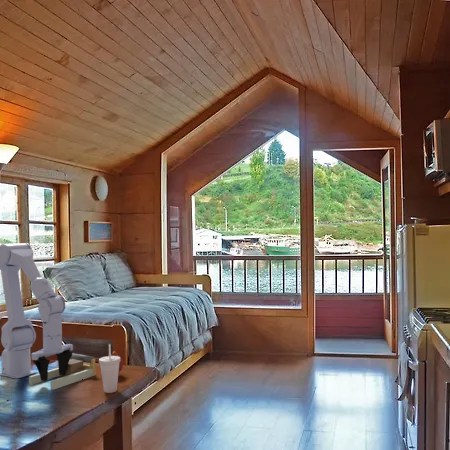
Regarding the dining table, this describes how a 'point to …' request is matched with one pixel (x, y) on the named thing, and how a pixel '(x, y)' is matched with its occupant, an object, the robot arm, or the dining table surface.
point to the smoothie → (109, 371)
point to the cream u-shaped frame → (86, 373)
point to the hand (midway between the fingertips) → (53, 377)
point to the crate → (73, 367)
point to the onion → (119, 362)
